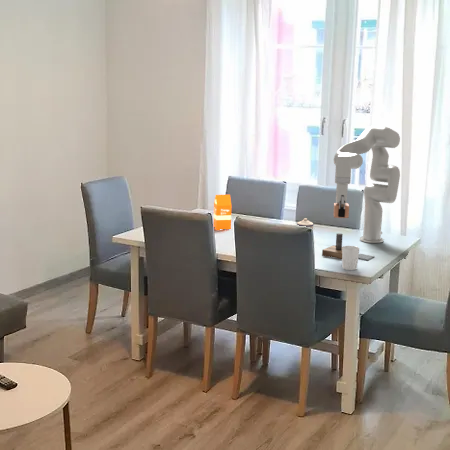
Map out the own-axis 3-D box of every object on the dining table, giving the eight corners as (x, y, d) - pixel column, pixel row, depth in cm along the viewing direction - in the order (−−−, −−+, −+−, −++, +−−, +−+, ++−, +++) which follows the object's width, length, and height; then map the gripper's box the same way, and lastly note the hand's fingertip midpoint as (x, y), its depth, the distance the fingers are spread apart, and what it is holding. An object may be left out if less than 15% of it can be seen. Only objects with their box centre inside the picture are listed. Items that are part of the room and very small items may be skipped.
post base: (333, 250, 358) (334, 230, 356) (354, 254, 352) (355, 233, 349) (322, 255, 349) (323, 234, 346) (343, 259, 342) (345, 238, 340)
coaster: (359, 254, 352) (359, 253, 352) (374, 257, 347) (374, 256, 347) (352, 257, 346) (352, 256, 346) (367, 260, 341) (367, 259, 341)
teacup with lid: (307, 242, 376) (308, 221, 373) (293, 239, 381) (294, 218, 378) (318, 238, 385) (319, 217, 383) (304, 235, 390) (305, 215, 388)
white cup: (339, 266, 331) (340, 245, 329) (355, 265, 332) (356, 245, 329) (343, 270, 323) (344, 249, 321) (359, 270, 324) (361, 249, 322)
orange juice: (213, 227, 406) (213, 193, 402) (227, 226, 408) (228, 193, 404) (216, 230, 399) (216, 196, 394) (231, 229, 401) (231, 195, 397)
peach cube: (347, 215, 349) (348, 201, 348) (348, 218, 342) (349, 204, 341) (333, 214, 350) (334, 201, 348) (334, 217, 343) (334, 203, 341)
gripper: (334, 177, 351) (332, 211, 355) (335, 182, 334) (334, 218, 338) (349, 177, 350) (347, 211, 354) (351, 183, 333) (349, 219, 337)
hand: (340, 215), depth 346 cm, fingers closed on peach cube, 7 cm apart
